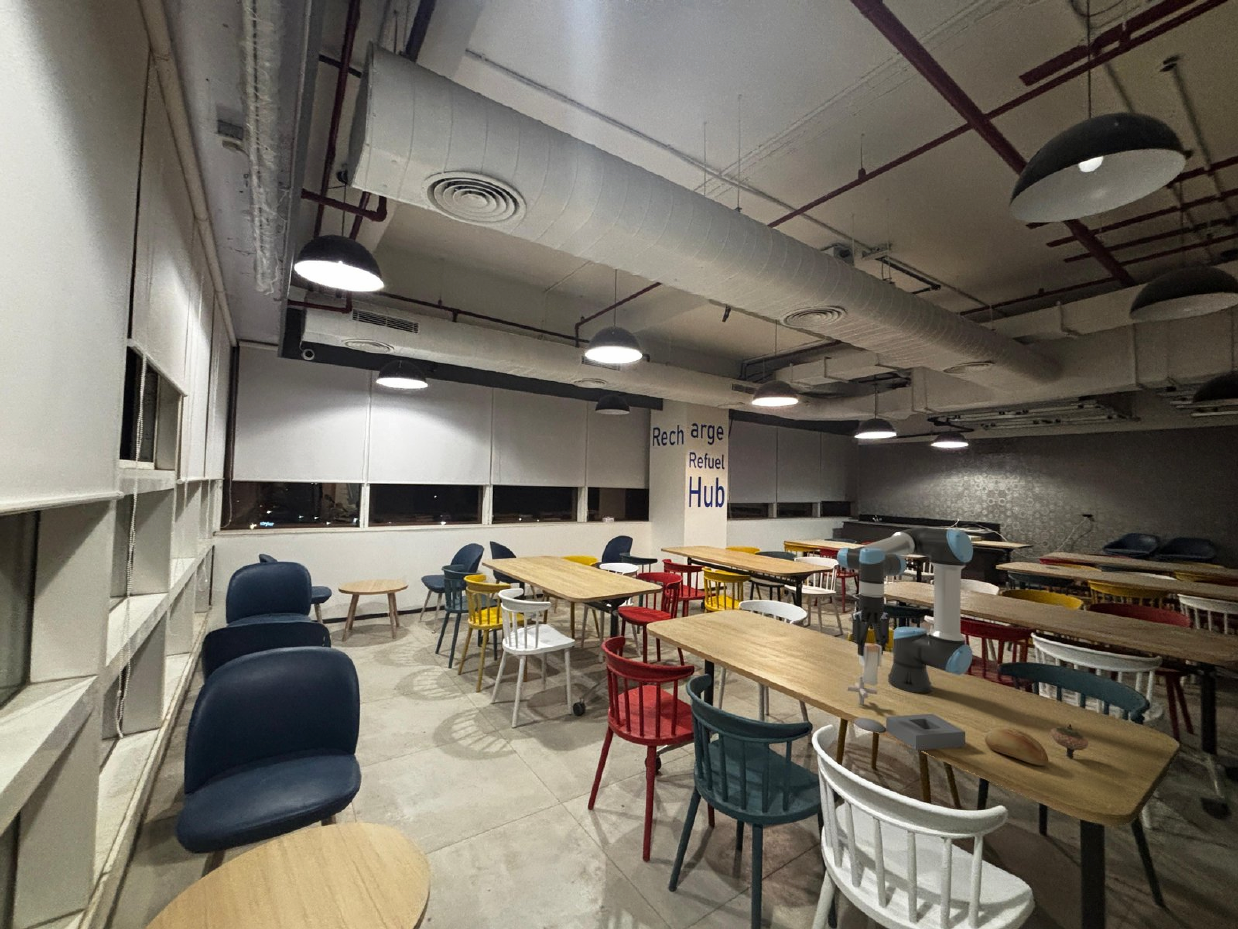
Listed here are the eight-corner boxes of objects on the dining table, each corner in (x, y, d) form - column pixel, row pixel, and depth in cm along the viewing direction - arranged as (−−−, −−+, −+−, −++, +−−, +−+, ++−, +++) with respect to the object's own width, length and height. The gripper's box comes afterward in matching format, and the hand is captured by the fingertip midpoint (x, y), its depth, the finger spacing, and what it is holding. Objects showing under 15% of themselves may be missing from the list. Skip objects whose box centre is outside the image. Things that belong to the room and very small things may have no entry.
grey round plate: (871, 718, 166) (871, 717, 166) (891, 731, 157) (891, 730, 157) (848, 719, 164) (848, 718, 164) (867, 733, 156) (867, 731, 156)
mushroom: (870, 679, 164) (871, 642, 165) (881, 685, 160) (882, 647, 160) (858, 679, 163) (858, 643, 164) (868, 685, 159) (869, 648, 159)
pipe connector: (880, 712, 172) (880, 683, 172) (850, 708, 174) (850, 679, 174) (871, 700, 181) (872, 673, 182) (843, 696, 183) (843, 669, 184)
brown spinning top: (1047, 755, 147) (1047, 721, 147) (1055, 747, 151) (1055, 715, 152) (1084, 768, 140) (1084, 733, 140) (1091, 760, 145) (1091, 726, 145)
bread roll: (1044, 774, 136) (1044, 745, 136) (979, 751, 148) (980, 724, 148) (1051, 763, 142) (1051, 736, 142) (989, 741, 154) (989, 716, 154)
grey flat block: (932, 727, 161) (932, 713, 162) (965, 746, 150) (965, 731, 150) (886, 730, 158) (886, 716, 158) (915, 750, 146) (916, 735, 146)
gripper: (885, 592, 169) (884, 660, 167) (840, 592, 165) (839, 661, 164) (902, 597, 161) (901, 668, 160) (855, 597, 158) (854, 670, 156)
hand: (870, 664), depth 162 cm, fingers closed on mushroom, 5 cm apart
